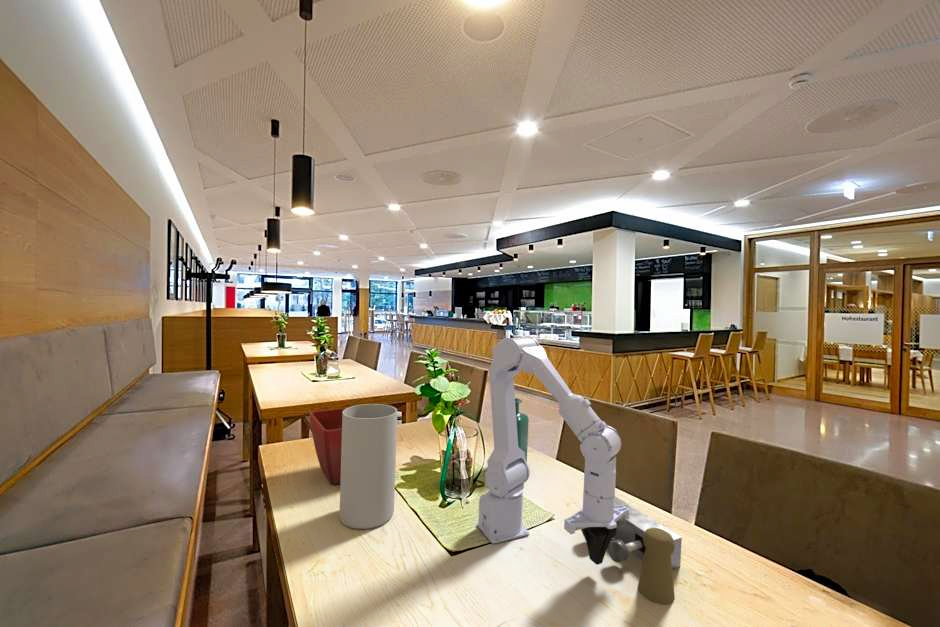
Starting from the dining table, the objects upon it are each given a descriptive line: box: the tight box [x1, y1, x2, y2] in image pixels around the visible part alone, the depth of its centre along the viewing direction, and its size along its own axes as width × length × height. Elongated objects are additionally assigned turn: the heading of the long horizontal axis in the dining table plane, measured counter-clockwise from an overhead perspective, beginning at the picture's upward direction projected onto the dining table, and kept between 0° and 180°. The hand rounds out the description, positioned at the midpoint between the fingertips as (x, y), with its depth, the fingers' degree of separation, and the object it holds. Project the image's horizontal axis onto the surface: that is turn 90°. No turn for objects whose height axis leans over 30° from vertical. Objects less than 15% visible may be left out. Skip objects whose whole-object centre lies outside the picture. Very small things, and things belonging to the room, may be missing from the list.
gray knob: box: [607, 539, 642, 564], centre depth 78 cm, size 7×4×4 cm, turn 115°
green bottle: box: [515, 397, 530, 464], centre depth 122 cm, size 10×8×22 cm
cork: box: [637, 528, 676, 605], centre depth 71 cm, size 6×6×11 cm
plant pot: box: [309, 407, 347, 486], centre depth 114 cm, size 19×19×17 cm
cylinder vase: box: [339, 403, 398, 530], centre depth 92 cm, size 12×12×25 cm
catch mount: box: [612, 496, 683, 571], centre depth 85 cm, size 6×18×6 cm, turn 25°
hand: (595, 560), depth 75 cm, fingers closed
